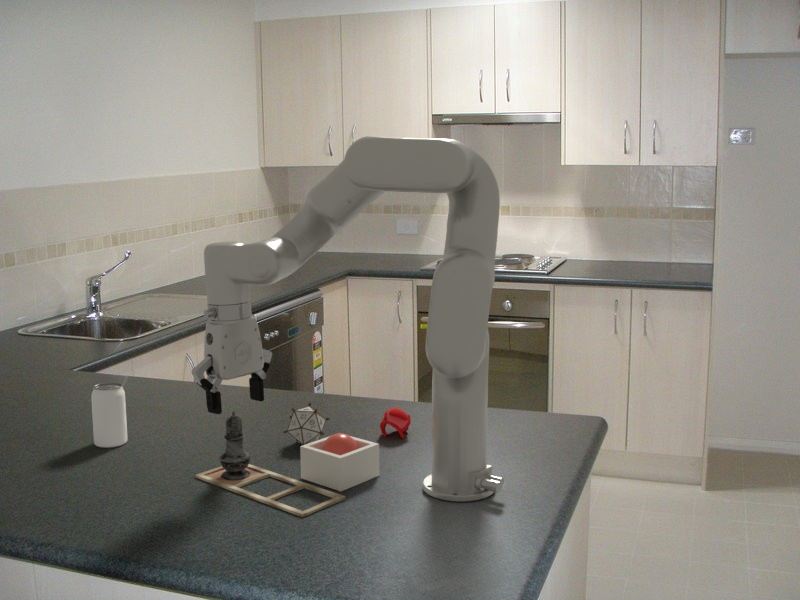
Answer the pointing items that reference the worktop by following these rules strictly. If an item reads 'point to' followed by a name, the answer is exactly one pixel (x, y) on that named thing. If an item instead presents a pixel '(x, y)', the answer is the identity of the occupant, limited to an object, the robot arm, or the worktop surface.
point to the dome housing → (339, 464)
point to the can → (109, 415)
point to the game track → (259, 474)
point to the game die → (306, 425)
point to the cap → (395, 421)
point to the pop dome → (339, 444)
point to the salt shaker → (234, 451)
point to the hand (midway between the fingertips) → (236, 406)
